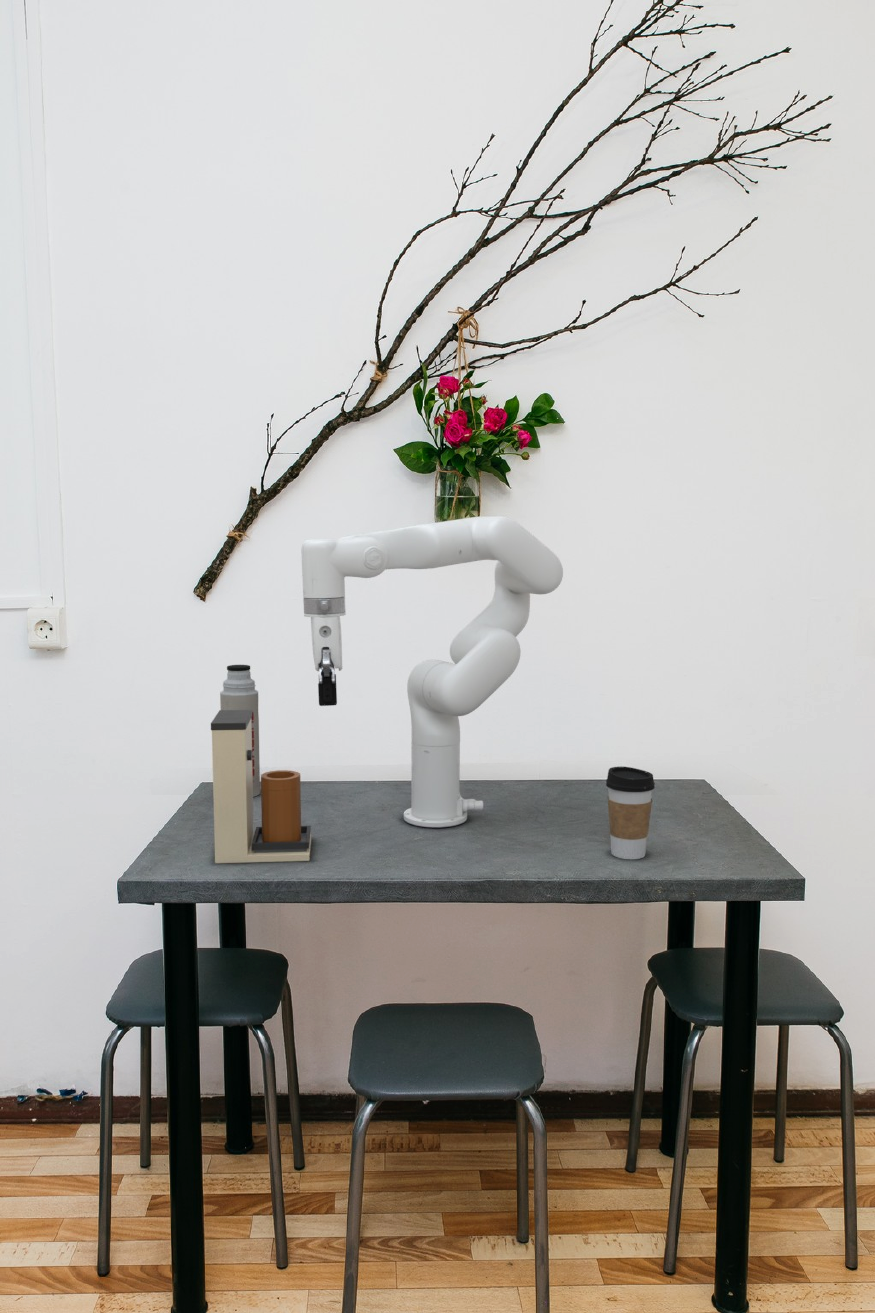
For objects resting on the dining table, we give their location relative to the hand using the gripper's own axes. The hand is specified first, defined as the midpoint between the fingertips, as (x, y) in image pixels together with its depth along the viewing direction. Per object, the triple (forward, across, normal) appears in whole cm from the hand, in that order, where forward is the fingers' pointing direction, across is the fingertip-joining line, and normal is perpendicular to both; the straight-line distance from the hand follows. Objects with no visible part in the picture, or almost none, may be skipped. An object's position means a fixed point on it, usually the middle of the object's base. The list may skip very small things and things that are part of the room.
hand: (328, 700), depth 182 cm
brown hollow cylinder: (+24, -8, +9) cm, 26 cm away
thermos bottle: (+26, +31, +20) cm, 45 cm away
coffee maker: (+25, -8, +12) cm, 29 cm away
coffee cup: (+27, -16, -52) cm, 61 cm away
